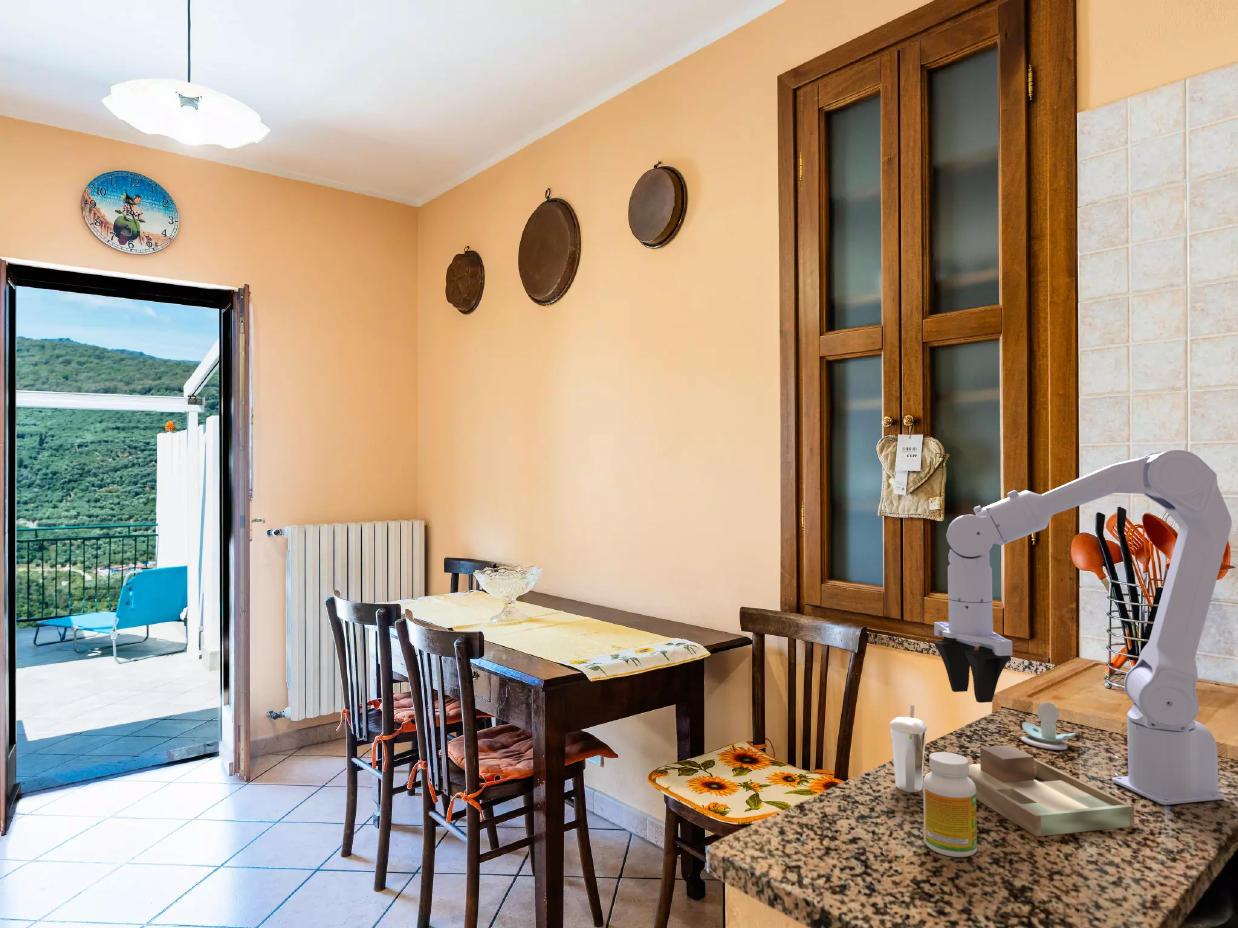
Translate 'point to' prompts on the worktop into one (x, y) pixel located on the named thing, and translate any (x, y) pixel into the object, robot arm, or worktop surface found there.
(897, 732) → the milkshake
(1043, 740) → the pacifier
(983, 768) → the walnut block
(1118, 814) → the tray
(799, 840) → the worktop surface
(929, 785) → the supplement bottle
